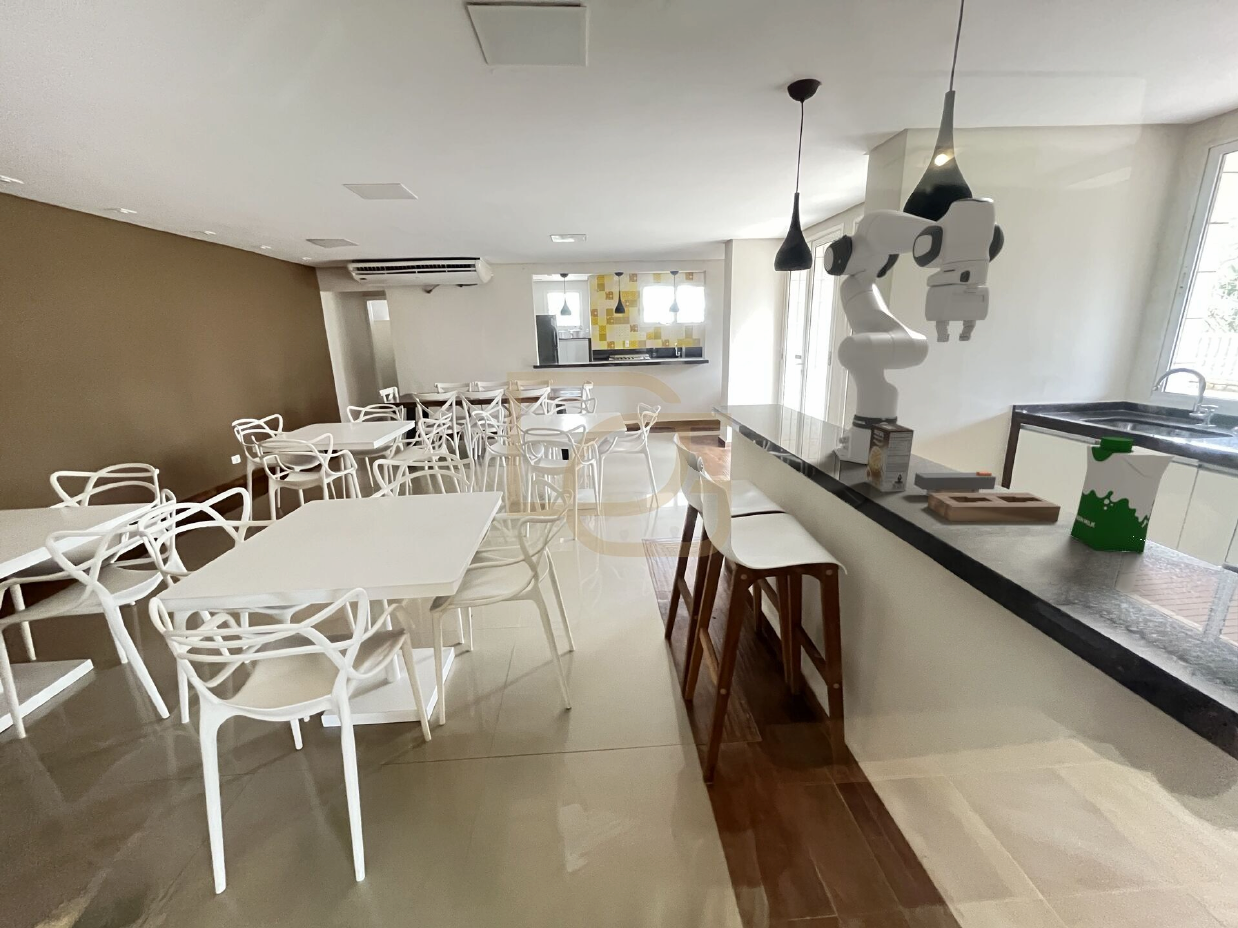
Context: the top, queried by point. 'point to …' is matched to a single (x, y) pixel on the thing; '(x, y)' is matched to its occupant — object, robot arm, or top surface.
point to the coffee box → (889, 457)
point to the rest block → (954, 491)
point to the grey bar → (954, 481)
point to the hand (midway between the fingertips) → (953, 341)
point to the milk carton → (1118, 494)
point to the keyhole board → (993, 507)
